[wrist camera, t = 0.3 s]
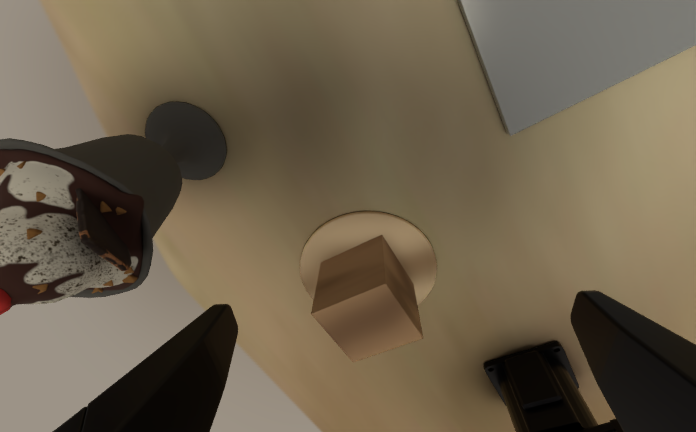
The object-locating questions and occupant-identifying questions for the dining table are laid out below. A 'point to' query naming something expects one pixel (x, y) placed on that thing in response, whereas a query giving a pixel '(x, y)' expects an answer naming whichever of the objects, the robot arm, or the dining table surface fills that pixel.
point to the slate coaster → (570, 48)
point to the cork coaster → (362, 228)
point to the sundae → (96, 205)
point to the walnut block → (366, 300)
